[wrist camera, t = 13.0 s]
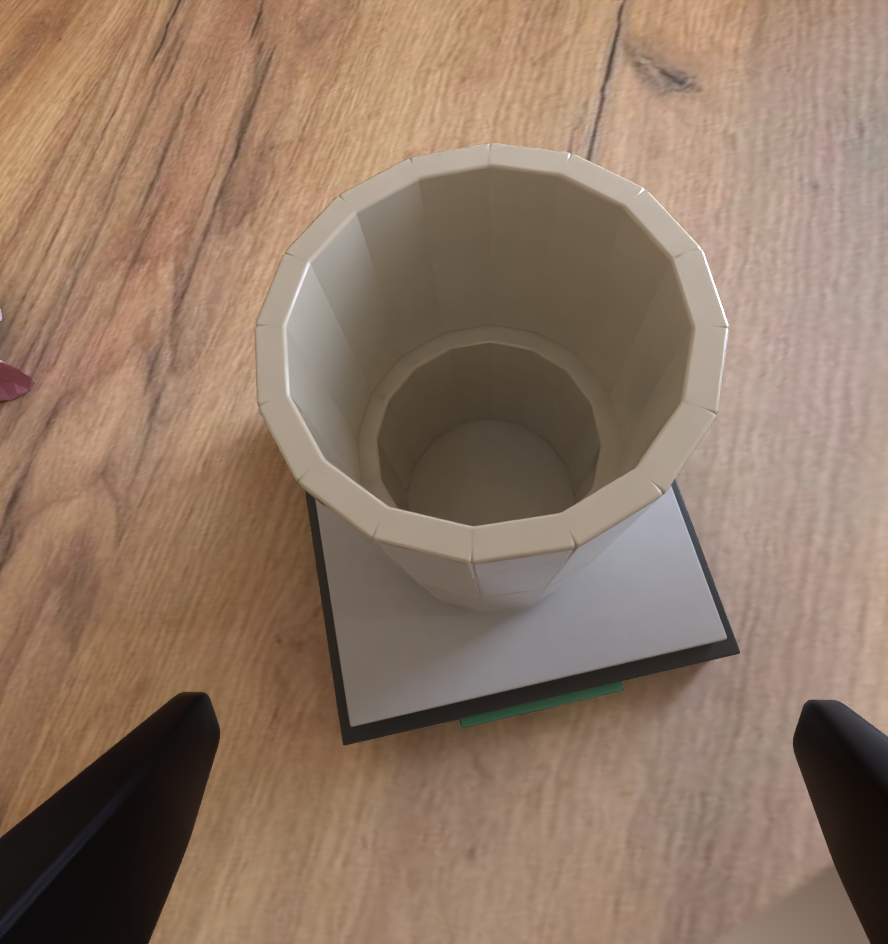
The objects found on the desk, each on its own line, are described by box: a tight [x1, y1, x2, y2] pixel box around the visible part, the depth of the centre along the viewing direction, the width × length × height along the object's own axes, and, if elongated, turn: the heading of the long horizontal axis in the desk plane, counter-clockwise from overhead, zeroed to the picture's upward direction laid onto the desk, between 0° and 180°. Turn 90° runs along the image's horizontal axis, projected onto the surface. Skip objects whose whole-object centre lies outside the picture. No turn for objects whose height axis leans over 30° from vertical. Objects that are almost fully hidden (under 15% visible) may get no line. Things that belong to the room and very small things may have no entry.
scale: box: [305, 479, 740, 745], centre depth 19 cm, size 12×12×3 cm
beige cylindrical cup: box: [255, 143, 728, 613], centre depth 13 cm, size 7×7×10 cm
